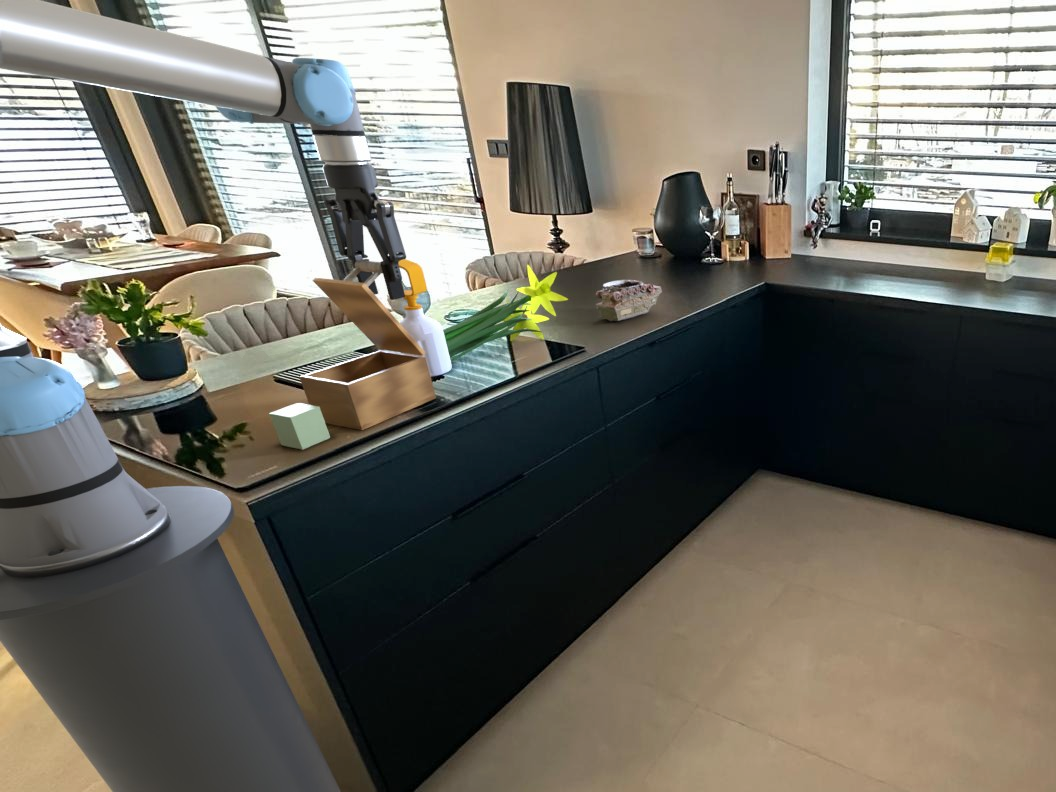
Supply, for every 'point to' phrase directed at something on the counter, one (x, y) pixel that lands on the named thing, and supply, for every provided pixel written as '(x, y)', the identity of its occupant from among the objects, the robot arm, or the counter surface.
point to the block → (299, 425)
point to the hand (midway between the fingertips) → (384, 296)
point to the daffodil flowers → (503, 317)
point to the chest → (369, 388)
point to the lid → (369, 310)
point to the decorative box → (626, 299)
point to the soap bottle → (424, 323)
